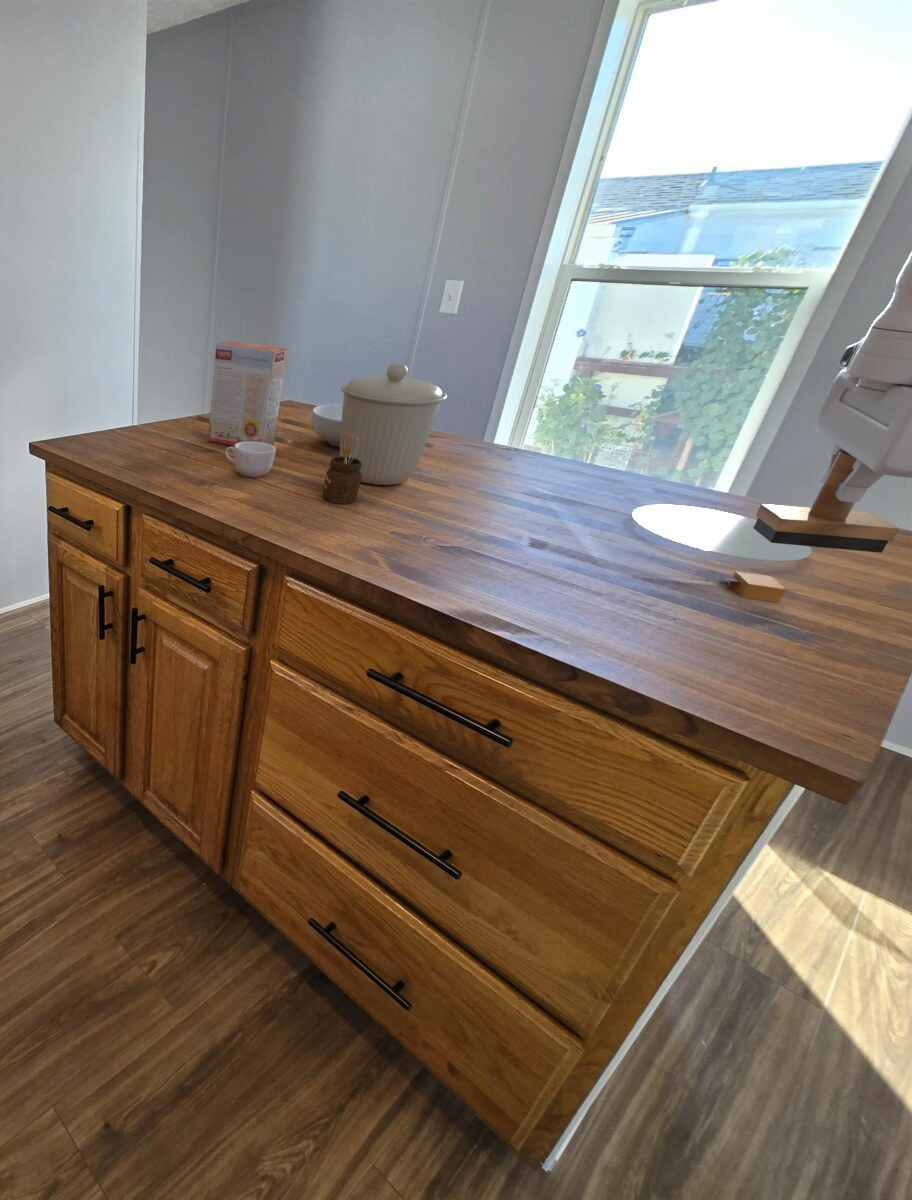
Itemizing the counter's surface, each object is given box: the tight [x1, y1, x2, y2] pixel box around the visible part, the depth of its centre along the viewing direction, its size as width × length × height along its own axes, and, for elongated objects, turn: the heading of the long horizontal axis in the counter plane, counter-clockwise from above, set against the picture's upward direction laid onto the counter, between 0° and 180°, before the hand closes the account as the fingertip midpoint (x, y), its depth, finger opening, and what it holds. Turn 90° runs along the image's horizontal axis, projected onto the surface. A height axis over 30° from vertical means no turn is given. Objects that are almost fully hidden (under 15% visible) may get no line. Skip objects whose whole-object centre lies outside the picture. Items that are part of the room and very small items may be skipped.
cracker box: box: [207, 341, 288, 447], centre depth 140 cm, size 14×6×21 cm, turn 46°
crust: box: [728, 571, 787, 603], centre depth 87 cm, size 4×4×2 cm
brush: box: [753, 450, 901, 554], centre depth 72 cm, size 10×5×10 cm, turn 69°
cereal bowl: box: [311, 403, 343, 448], centre depth 146 cm, size 17×17×7 cm
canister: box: [339, 363, 448, 486], centre depth 122 cm, size 18×18×21 cm
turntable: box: [631, 504, 813, 562], centre depth 103 cm, size 22×22×2 cm
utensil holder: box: [322, 435, 362, 505], centre depth 113 cm, size 6×6×12 cm
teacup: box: [224, 441, 277, 479], centre depth 127 cm, size 10×8×5 cm
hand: (837, 494), depth 72 cm, fingers closed on brush, 3 cm apart
